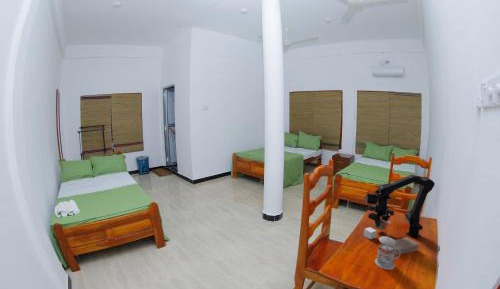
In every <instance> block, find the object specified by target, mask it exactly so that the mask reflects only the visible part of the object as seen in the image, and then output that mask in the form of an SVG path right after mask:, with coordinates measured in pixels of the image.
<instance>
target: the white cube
mask: <svg viewBox="0 0 500 289" xmlns="http://www.w3.org/2000/svg"><path fill="white" fill-rule="evenodd" d="M363 236H364V237H365V238H367V239H369V240H370V239H371V240H373V238H374V239H375V238H377V229H375V228H372V227H371V226H370V227H366V228H364V232H363Z"/></svg>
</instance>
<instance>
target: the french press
mask: <svg viewBox="0 0 500 289" xmlns="http://www.w3.org/2000/svg"><path fill="white" fill-rule="evenodd" d="M387 224H388V226H390V225H392V221H390V220H387ZM389 230H390V229H388V231H387V235H389V234H390V233H389V232H390V231H389ZM378 240H379V242H380V243H381V244H379V246H378V249H377V258H375V259H374V263H375V264H376V265H377V267H379V268H382V269H383V270H384V269H385V270H394V269H395V268H396V266H395V263H394V262H395V259H396V260H398V259H399V258H400V257H401V255H402V254H401V250H400V251H399V252H400V254H399V255H397V256H395V255H394V249H395V247H396V246H397V245H395V244H396V242H395V240H396V239H394V238H392V237H389V236H380V237H379V238H378ZM393 245H395V247H394V248H393V247H392V246H393ZM397 247H398V246H397ZM397 247H396V248H397ZM398 248H399V247H398ZM398 248H397V249H398ZM399 249H400V248H399ZM399 249H398V250H399ZM392 252H393V253H392Z"/></svg>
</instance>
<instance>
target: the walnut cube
mask: <svg viewBox="0 0 500 289" xmlns="http://www.w3.org/2000/svg"><path fill="white" fill-rule="evenodd" d="M373 223H374V224H373V225H374V226H373V228H374V229H376V230H377V229H378V230H379V231H383V230H385V229H387V222H386V221H384V220H382V221H381V223H380V225H379V227H376V223H375V222H373Z"/></svg>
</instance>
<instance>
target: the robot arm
mask: <svg viewBox="0 0 500 289" xmlns="http://www.w3.org/2000/svg"><path fill="white" fill-rule="evenodd" d="M413 183H415V184H418V191H417V195H416V197H415V200H414V203H413V205H412V208H411V210H406V213H405V215H404V216H405V220H406V221H407V223H408V224H409V227H408V232H406V233H405V234H406V235H407V236H409V237H412V238H413V239H418V238H420V237H422V235H421V234H420V231H422V230H423V228H424V227H423V225H421V223H420V220H421V218H420V217H421V215H420V213H421V211H422V208H423V206H424V204H425V201H426V198H427V196H428V194H429V193H431V191H432V190H433V188H434V187H435V182H434V181H433V179H430V178H429V177H428V176H419V175H415V174H409V175H408V176H406V177H403V178H400V179H398V180H396V181H393V182H391V183H390V182H389V183H384V184H380V185H379V186H378V188H377V189H376V190H375V191H374V193H369V192H367V193H366V194H365V196H364V199H365V200H364V201H365V203H366V204H367V205H368V206H367V210H368V211H369V212H371V213H368V215H367V218H368V219H371V221H374V223H376V227H379V225H380V223H381V221H382V220H384V221H386V223H388V221H389V219H390V218H391V217H392V216H394V215H395V212H394V210H393V209H389V205H388V203H389V200H393V199H392V197H391V196H390V195H392V194H393V193H394V192H395V191H397V190H399V189H401V188H404V187H406V186H408V185H411V184H413Z"/></svg>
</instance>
